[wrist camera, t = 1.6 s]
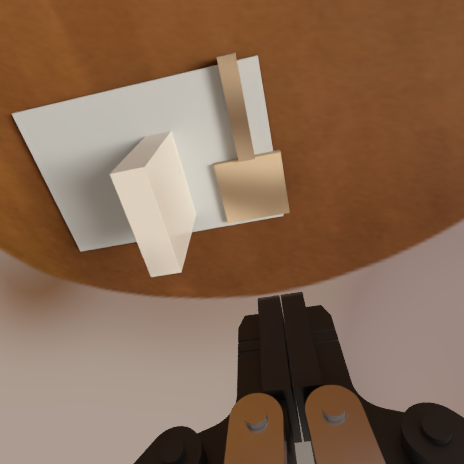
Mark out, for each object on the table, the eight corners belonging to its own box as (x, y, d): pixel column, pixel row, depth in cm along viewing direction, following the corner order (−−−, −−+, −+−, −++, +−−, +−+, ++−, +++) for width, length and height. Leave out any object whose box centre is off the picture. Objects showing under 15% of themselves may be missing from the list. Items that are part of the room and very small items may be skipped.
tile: (144, 136, 26) (107, 174, 19) (171, 130, 26) (144, 166, 19) (171, 219, 29) (149, 277, 22) (196, 214, 29) (181, 272, 22)
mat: (16, 112, 26) (11, 113, 25) (257, 55, 24) (257, 55, 23) (83, 248, 32) (80, 251, 31) (282, 212, 29) (283, 215, 29)
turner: (189, 63, 23) (187, 64, 23) (263, 45, 23) (264, 45, 22) (228, 220, 29) (228, 225, 28) (288, 209, 29) (290, 214, 28)
